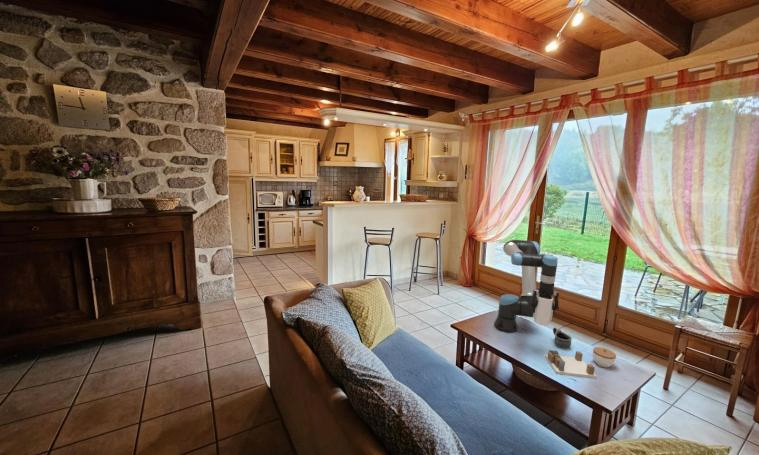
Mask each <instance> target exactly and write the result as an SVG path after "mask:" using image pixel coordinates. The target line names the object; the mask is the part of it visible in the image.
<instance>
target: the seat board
mask: <svg viewBox="0 0 759 455" xmlns="http://www.w3.org/2000/svg"><path fill="white" fill-rule="evenodd" d="M551 351H554V350H552V349H549V350H548V352H547V354H544V358H545V359H546V361H547V362H548V364H549V366H550V367H551V369H552V370H553V371H554V373H555V374H556V375H562V376H568V377H578V378H587V379H594V380H595V379H597V378H598V377H597V374H595V366H594V365H593V364H591V363H590V364H589V363H586V362H585V361H584V360H583V352H582V351H578V350H577V351H575V354H574V357H573V356H565V355H564V356H563V355H559V356H560V357H561V358H562V360H563V361H562V360H560V362H559V367H556V365H555V364H554V363H553V361H554V356H553V354H552V353H551Z"/></svg>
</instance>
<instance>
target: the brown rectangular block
mask: <svg viewBox="0 0 759 455" xmlns="http://www.w3.org/2000/svg"><path fill="white" fill-rule="evenodd" d="M551 353H552V354H553V356H554V361H553V363H554V364H555V365H556V367H559V362H560V360H562V358H561V357H560V356H561V355H560V354H559V352H558V351H556V350H553V351H551ZM562 361H563V360H562Z"/></svg>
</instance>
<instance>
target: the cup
mask: <svg viewBox="0 0 759 455" xmlns="http://www.w3.org/2000/svg"><path fill="white" fill-rule="evenodd" d="M538 295H539V294H537V300H538V305H537V306H536V308H537V313H536V319H534V318H533V322H534V323H536V324H537V325H540V326H550V324H551V323H550V322H551V320H550V317H551V310H552V302H553V303H554V296H553V297H552V296H551V297H552V299H548V298H546V297H545V298H541V297H539V296H538Z"/></svg>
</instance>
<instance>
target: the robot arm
mask: <svg viewBox="0 0 759 455" xmlns="http://www.w3.org/2000/svg"><path fill="white" fill-rule="evenodd" d="M502 248H503V249H502V250H503V252H504V253H505V254H506V255H507V256H509V257H510V262H511V264H512V265H513V266H521V288H522V289H521V292H522V293H521V295H520V296H518V295H516V294H512V293H506V294H502V295H501V296H500V298H499V301H498V312H497V317H496V318H495V320H494V324H493V328H495V329H496V330H498V331H500V332H503V333H507V334H514V333H517V332H518V323H517V316H519V317H525V318H526V317H527V318H528V317H529V318H533V320H534V319H536V313H537V308H536V306H537V305H538V300H537V295H538V296H539V297H541V298H545V297H546V298H548V299H552V295H553V302H552V310H551V317H550V322H551V321H553V319H552V318H553V315H555V312H556V310H559V308H560V307H559V295H560V293H559V292H558V291H554V290H555V282H556V274H557V268H558V264H559V262H558V260H559V258H558V257H557V256H556V255H555V256H554V255H552V254H551V255H550V254H544V253H541V248H540V245H539V243H538V242H537V241H532V240H525V239H524V240H521V239H511V240H508V241H506V242H505V243H504V244H503V247H502ZM536 268H541V271H540V272H541V273H540V279H539V280H540V281H539V287H538V289H537V286H536ZM538 293H539V294H538Z"/></svg>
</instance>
